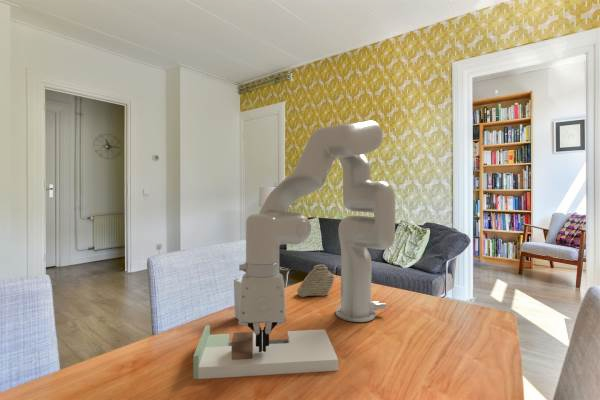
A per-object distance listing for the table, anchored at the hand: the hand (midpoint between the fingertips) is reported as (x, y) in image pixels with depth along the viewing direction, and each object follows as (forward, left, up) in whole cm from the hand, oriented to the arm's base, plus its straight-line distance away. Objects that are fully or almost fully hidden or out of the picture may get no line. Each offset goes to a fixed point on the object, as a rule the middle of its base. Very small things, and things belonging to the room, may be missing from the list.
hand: (262, 348), depth 72 cm
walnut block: (+4, 0, -1) cm, 5 cm away
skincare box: (+5, -26, -4) cm, 27 cm away
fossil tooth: (-21, -47, -4) cm, 51 cm away
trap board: (-2, -3, -4) cm, 5 cm away
